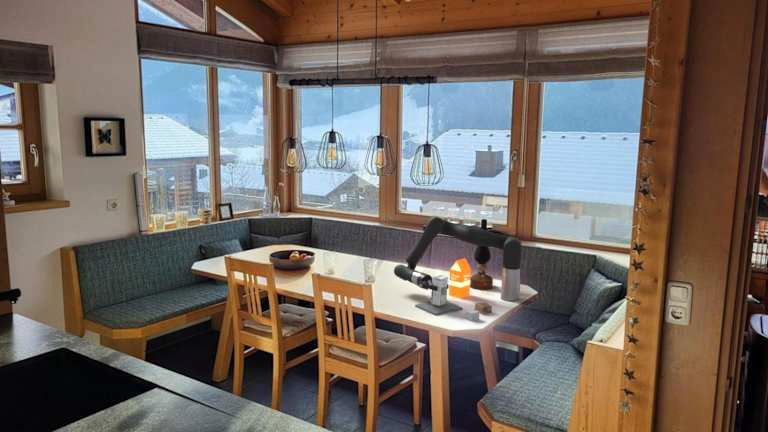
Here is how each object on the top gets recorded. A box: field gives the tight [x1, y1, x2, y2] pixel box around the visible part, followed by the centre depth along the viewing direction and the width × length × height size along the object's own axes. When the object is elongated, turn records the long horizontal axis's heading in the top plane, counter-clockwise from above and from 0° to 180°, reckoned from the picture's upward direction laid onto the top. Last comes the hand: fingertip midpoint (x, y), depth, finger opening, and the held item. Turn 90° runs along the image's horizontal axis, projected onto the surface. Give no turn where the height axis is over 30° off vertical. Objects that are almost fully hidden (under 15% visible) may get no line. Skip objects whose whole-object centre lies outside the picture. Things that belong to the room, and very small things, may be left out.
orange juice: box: [448, 257, 472, 299], centre depth 323 cm, size 8×9×20 cm
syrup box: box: [430, 274, 449, 306], centre depth 300 cm, size 6×6×14 cm
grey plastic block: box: [463, 308, 480, 322], centre depth 286 cm, size 5×5×4 cm
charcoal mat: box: [414, 300, 463, 316], centre depth 302 cm, size 18×16×1 cm
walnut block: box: [474, 301, 493, 315], centre depth 297 cm, size 6×6×4 cm
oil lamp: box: [470, 218, 494, 291], centre depth 341 cm, size 14×15×40 cm
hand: (442, 287), depth 298 cm, fingers closed on syrup box, 7 cm apart
